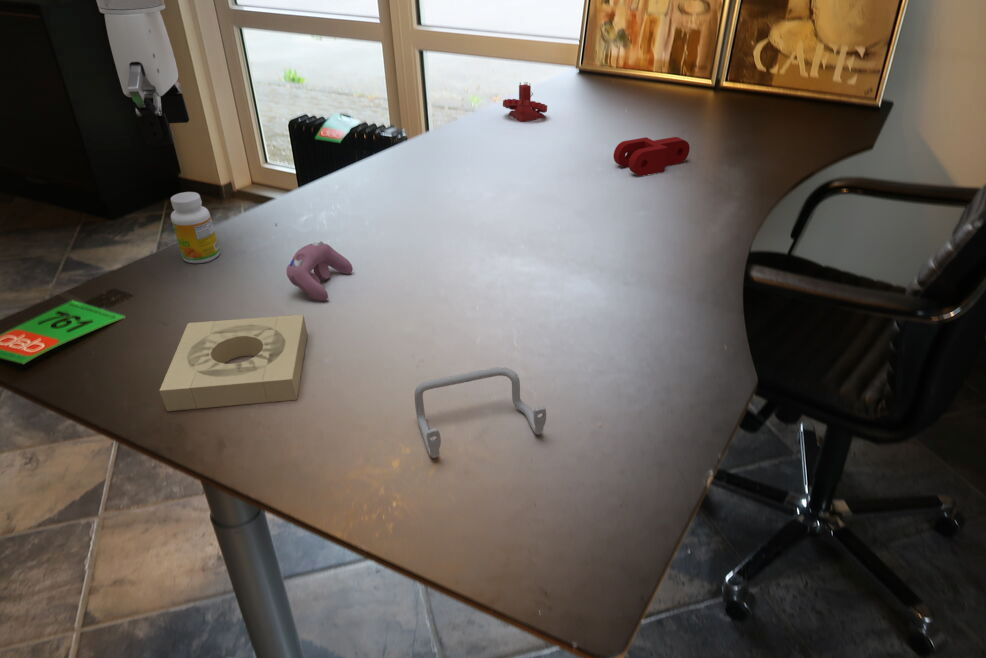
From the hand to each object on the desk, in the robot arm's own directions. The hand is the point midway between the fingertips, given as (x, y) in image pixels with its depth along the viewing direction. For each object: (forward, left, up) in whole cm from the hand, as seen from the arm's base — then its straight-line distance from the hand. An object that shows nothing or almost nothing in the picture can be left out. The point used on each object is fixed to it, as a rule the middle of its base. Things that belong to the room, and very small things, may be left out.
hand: (169, 133), depth 98 cm
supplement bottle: (0, 0, -19) cm, 19 cm away
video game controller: (+19, -12, -19) cm, 29 cm away
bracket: (+38, -48, -19) cm, 64 cm away
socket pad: (+11, -32, -19) cm, 39 cm away
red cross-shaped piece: (+62, +67, -19) cm, 93 cm away
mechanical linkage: (+83, +30, -19) cm, 90 cm away
